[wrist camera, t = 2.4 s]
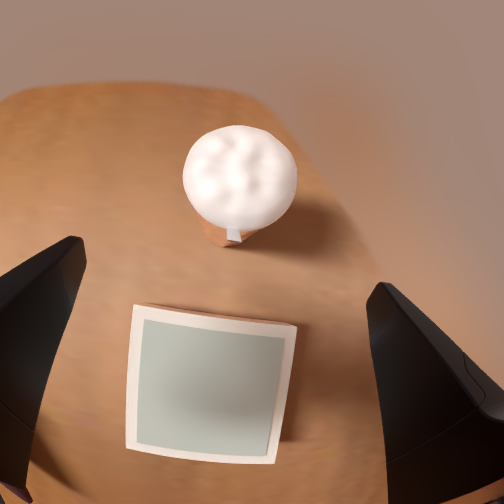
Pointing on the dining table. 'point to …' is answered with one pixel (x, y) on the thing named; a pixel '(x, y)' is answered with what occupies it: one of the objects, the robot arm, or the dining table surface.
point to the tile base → (207, 384)
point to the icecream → (19, 492)
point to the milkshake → (238, 182)
